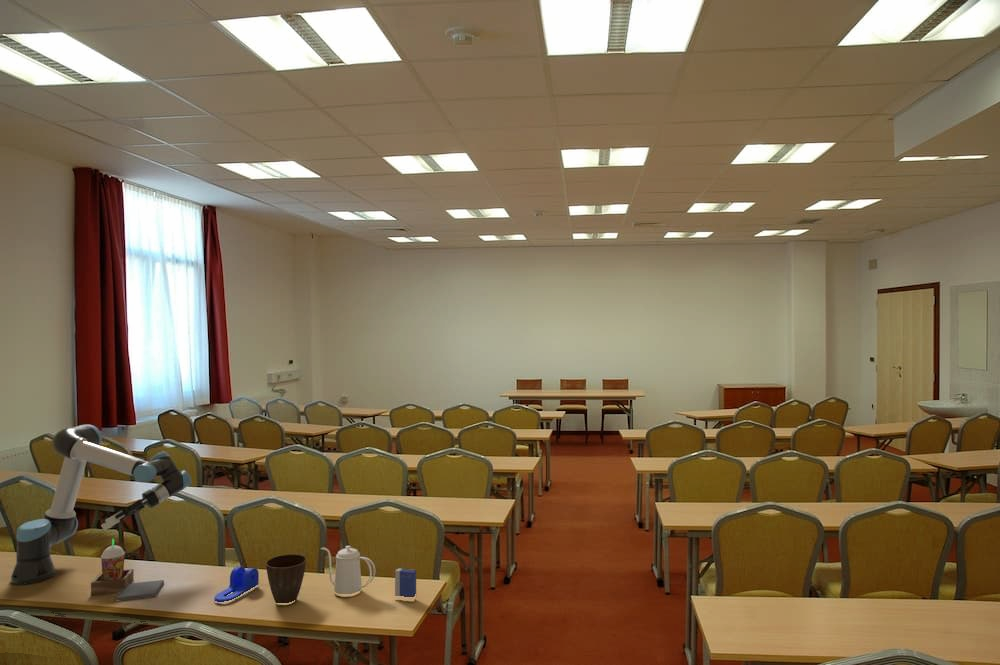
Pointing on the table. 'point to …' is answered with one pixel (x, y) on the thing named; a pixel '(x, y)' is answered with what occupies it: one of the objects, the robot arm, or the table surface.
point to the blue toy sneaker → (239, 583)
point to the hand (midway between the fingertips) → (104, 525)
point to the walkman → (405, 582)
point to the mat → (140, 590)
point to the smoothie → (112, 562)
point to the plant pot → (286, 576)
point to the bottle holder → (111, 583)
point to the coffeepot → (348, 571)
